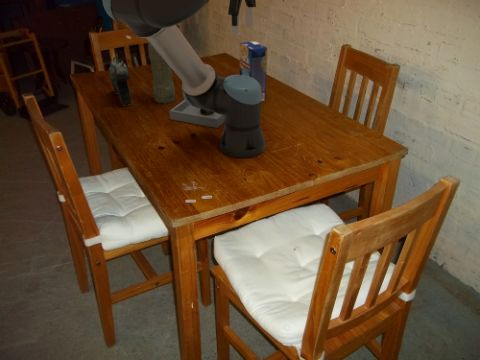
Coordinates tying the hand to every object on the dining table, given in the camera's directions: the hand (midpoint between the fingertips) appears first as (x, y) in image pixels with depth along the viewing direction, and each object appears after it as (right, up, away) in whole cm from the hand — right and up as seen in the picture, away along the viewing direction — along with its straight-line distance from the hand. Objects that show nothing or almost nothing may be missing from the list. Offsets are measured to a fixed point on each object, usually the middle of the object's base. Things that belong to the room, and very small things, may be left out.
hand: (242, 31), depth 142 cm
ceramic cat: (-51, -17, +34) cm, 63 cm away
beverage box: (+4, -16, +36) cm, 39 cm away
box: (-15, -25, +21) cm, 36 cm away
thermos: (-33, -17, +33) cm, 50 cm away
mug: (-14, -24, +21) cm, 35 cm away
